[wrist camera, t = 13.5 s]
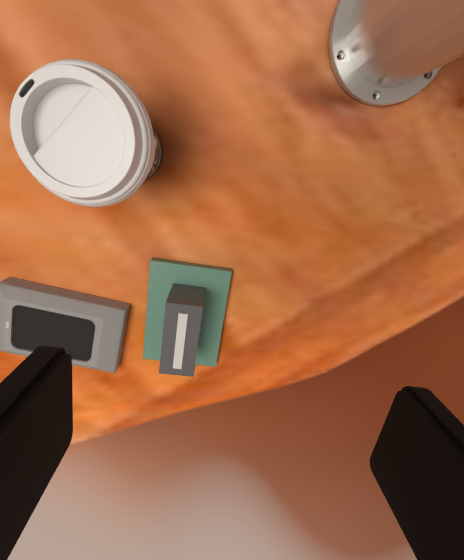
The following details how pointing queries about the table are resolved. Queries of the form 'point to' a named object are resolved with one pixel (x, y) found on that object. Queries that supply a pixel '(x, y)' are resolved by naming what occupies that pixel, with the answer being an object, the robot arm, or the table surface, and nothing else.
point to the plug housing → (181, 329)
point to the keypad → (62, 323)
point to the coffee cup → (84, 133)
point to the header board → (213, 306)
